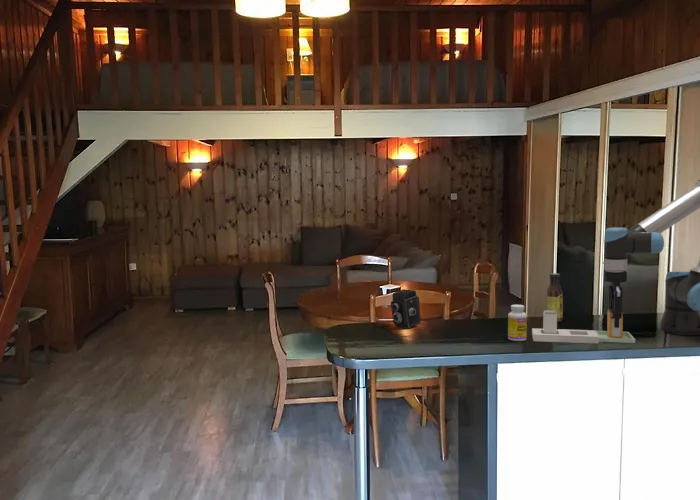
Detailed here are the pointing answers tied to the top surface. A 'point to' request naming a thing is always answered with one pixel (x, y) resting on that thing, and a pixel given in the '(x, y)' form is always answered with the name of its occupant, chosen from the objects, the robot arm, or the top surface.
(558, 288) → the sauce bottle
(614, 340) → the tray
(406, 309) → the camera
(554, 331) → the twin plug
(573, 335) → the pdu strip
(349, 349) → the top surface
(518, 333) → the supplement bottle
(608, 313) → the plug
